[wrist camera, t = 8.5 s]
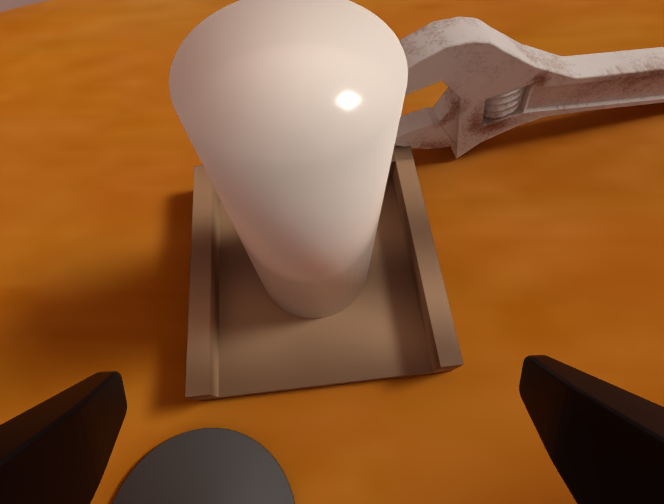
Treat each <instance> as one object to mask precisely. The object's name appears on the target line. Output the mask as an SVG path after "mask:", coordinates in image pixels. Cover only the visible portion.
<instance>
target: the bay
mask: <svg viewBox="0 0 664 504" xmlns="http://www.w3.org/2000/svg"><path fill="white" fill-rule="evenodd" d="M461 365H463V360H462V356H461V352H460V348H459V344H458V340H457V335H456V331H455V327H454V323H453V319H452V315H451V311H450V307H449V303H448V298H447V294H446V290H445V286H444V282H443V278H442V274H441V270H440V265H439V261H438V257H437V253H436V249H435V245H434V241H433V237H432V233H431V228H430V224H429V220H428V216H427V212H426V208H425V204H424V200H423V195H422V191H421V187H420V183H419V179H418V175H417V171H416V167H415V163H414V158H413V154H412V150H411V146H406V147H403V146H395V147H394V150H393V155H392V159H391V164H390V169H389V174H388V179H387V183H386V188H385V193H384V198H383V203H382V207H381V212H380V217H379V222H378V227H377V231H376V236H375V241H374V246H373V251H372V255H371V260H370V265H369V270H368V275H367V279H366V283H365V285H364V288H363V290H362V291H361V293H360V295H359V296H358V297H357V299H356V300H355V301H354V302H353V303H352V304H351V305H350V306H348V307H347V308H346V309H344V310H342V311H341V312H339V313H337V314H334V315H332V316H328V317H324V318H303V317H299V316H295V315H293V314H290V313H288V312H286V311H285V310H283V309H282V308H280V307H279V306H278V305H277V304H276V303H275V302H274V301H273V300H272V299H271V298H270V296H269V295H268V293H267V291H266V289H265V288H264V286H263V284H262V282H261V280H260V278H259V276H258V274H257V272H256V270H255V268H254V266H253V264H252V262H251V260H250V258H249V256H248V254H247V252H246V250H245V248H244V246H243V244H242V242H241V240H240V238H239V236H238V234H237V232H236V230H235V228H234V226H233V224H232V222H231V220H230V218H229V216H228V214H227V212H226V210H225V208H224V206H223V204H222V202H221V200H220V198H219V196H218V194H217V192H216V190H215V188H214V186H213V184H212V182H211V180H210V178H209V176H208V174H207V172H206V170H205V168H204V166H194V188H193V213H192V238H191V263H190V287H189V312H188V337H187V362H186V387H185V397H186V398H191V399H195V400H200V401H203V400H211V399H220V398H228V397H237V396H245V395H253V394H262V393H270V392H279V391H287V390H296V389H304V388H312V387H321V386H329V385H338V384H346V383H355V382H363V381H372V380H380V379H388V378H397V377H405V376H414V375H422V374H431V373H439V372H447V371H452V370H454V369H456V368H458V367H459V366H461Z"/></svg>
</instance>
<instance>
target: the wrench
mask: <svg viewBox="0 0 664 504" xmlns="http://www.w3.org/2000/svg"><path fill="white" fill-rule="evenodd" d="M400 44H401V46H402V48H403V50H404V53H405V56H406V60H407V67H408V80H407V87H406V92H405V95H407V94H410V93H412V92H415V91H417V90H420V89H422V88H425V87H427V86H429V85H432V84H434V83H437V82H439V81H443V82H444V83H445V84H446V85H447V86H449V87H448V88H447V90H446V91H445V92H444V94H443V95H442V96H441V98H440V99H439V100H438V102H437V103H436V104H435V106H434V107H433V108H431V107H430V108H424V109H421V110H418V111H415V112H412V113H409V114H406V115H404V116H402V117H400V121H399V126H398V131H397V135H396V140H395V145H397V146H403V147H406V146H411V148H417V149H435V148H443V147H450V146H451V149H452V151H453V153H454V155H455V157H456V159H457V158H459V157H460V156H462V155H463V154H464V153H466V152H467V151H469V150H470V149H472V148H473V147H475V146H476V145H478V144H479V143H480V142H483V141H485V140H487V139H489V138H492V137H494V136H496V135H498V134H501V133H503V132H505V131H507V130H510V129H512V128H514V127H516V126H519V125H522V124H525V123H528V122H531V121H534V120H537V119H540V118H543V117H546V116H553V115H561V114H568V113H575V112H583V111H590V110H599V109H608V108H617V107H626V106H636V105H645V104H654V103H663V102H664V47H659V48H649V49H638V50H628V51H617V52H606V53H596V54H585V55H575V56H564V57H561V56H558V55H555V54H552V53H549V52H545V51H542V50H539V49H536V48H533V47H529V46H526V45H523V44H520V43H518V42H517V41H515V40H513V39H511V38H509V37H508V36H506V35H504V34H502V33H500V32H499V31H497V30H495V29H493V28H491V27H490V26H488V25H487V24H485V23H484V22H482V21H480V20H479V19H477V18H469V17H455V18H450V19H444V20H439V21H433V22H431V23H430V24H428V25H426V26H424V27H422V28H421V29H419V30H417V31H415V32H413V33H411V34H410V35H408V36H406V37H404V38H403V39H402V40H400Z"/></svg>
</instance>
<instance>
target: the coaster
mask: <svg viewBox="0 0 664 504" xmlns="http://www.w3.org/2000/svg"><path fill="white" fill-rule="evenodd" d="M112 504H295V502H294V498H293V494H292V491H291V488H290V485H289V482H288V480H287V478H286V476H285V474H284V472H283V470H282V468H281V467H280V465H279V464H278V462H277V461H276V459H275V458H274V457H273V456H272V455H271V454H270V453H269V451H268V450H266V449H265V448H264V447H263V446H262V445H261V444H260V443H258V442H257V441H255V440H253V439H252V438H250V437H248V436H246V435H244V434H242V433H239V432H236V431H232V430H229V429H221V428H203V429H197V430H192V431H188V432H185V433H182V434H179V435H177V436H175V437H173V438H170V439H169V440H167V441H165V442H164V443H162V444H160V445H159V446H157V447H156V448H155V449H154V450H152V451H151V452H150V453H148V454H147V455H146V456H145V457H144V458H143V459H142V460H141V461H140V462H139V463H138V464H137V465H136V467H135V468H134V469H133V470H132V471H131V473H130V474H129V475H128V477H127V478H126V480H125V481H124V483H123V484H122V486H121V487H120V489H119V491H118V493H117V495H116V497H115V499H114V501H113V503H112Z"/></svg>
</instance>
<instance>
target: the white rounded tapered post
mask: <svg viewBox="0 0 664 504" xmlns="http://www.w3.org/2000/svg"><path fill="white" fill-rule="evenodd" d="M407 80H408V67H407V60H406V56H405V53H404V50H403V48H402V46H401V44H400V41H399V40H398V38H397V37H396V35H395V34H394V32H393V31H392V30H391V29H390V28H389V27H388V26H387V25H386V23H385V22H383V21H382V20H381V19H380V18H379V17H377V16H376V15H375V14H373V13H372V12H370V11H369V10H367V9H365V8H364V7H362V6H360V5H358V4H356V3H354V2H351V1H348V0H240V1H237V2H235V3H232V4H230V5H228V6H226V7H224V8H222V9H220V10H218V11H217V12H215V13H213V14H211V15H210V16H209V17H207V18H206V19H205V20H203V21H202V22H201V23H199V24H198V25H197V26H196V27H195V28H194V29H193V30H192V31H191V32H190V33H189V34H188V36H187V37H186V38H185V39H184V40H183V42H182V43H181V45H180V47H179V48H178V50H177V52H176V54H175V56H174V59H173V61H172V65H171V69H170V73H169V90H170V97H171V100H172V103H173V106H174V109H175V111H176V113H177V115H178V117H179V119H180V121H181V123H182V125H183V127H184V129H185V131H186V133H187V135H188V137H189V139H190V141H191V143H192V145H193V147H194V149H195V151H196V153H197V155H198V157H199V158H200V160H201V162H202V164H203V166H204V168H205V170H206V172H207V174H208V176H209V178H210V180H211V182H212V184H213V186H214V188H215V190H216V192H217V194H218V196H219V198H220V200H221V202H222V204H223V206H224V208H225V210H226V212H227V214H228V216H229V218H230V220H231V222H232V224H233V226H234V228H235V230H236V232H237V234H238V236H239V238H240V240H241V242H242V244H243V246H244V248H245V250H246V252H247V254H248V256H249V258H250V260H251V262H252V264H253V266H254V268H255V270H256V272H257V274H258V276H259V278H260V280H261V282H262V284H263V286H264V288H265V289H266V291H267V293H268V295H269V296H270V298H271V299H272V300H273V301H274V302H275V303H276V304H277V305H278V306H279V307H280V308H282V309H283V310H285V311H286V312H288V313H290V314H293V315H295V316H299V317H303V318H324V317H328V316H332V315H334V314H337V313H339V312H341V311H342V310H344V309H346V308H347V307H348V306H350V305H351V304H352V303H353V302H354V301H355V300H356V299H357V297H358V296H359V295H360V293H361V291H362V290H363V288H364V285H365V283H366V279H367V275H368V270H369V265H370V260H371V255H372V251H373V246H374V241H375V236H376V231H377V227H378V222H379V217H380V212H381V207H382V203H383V198H384V193H385V188H386V183H387V179H388V174H389V169H390V164H391V159H392V155H393V150H394V145H395V140H396V135H397V131H398V126H399V121H400V116H401V111H402V107H403V102H404V97H405V92H406V87H407Z"/></svg>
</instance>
